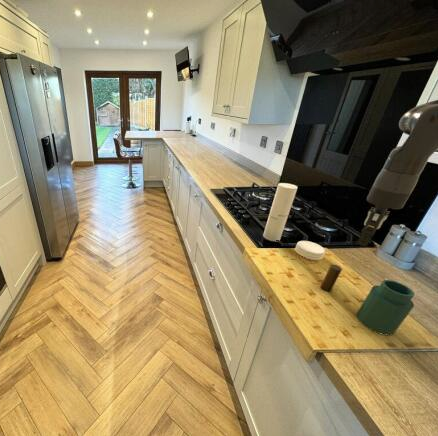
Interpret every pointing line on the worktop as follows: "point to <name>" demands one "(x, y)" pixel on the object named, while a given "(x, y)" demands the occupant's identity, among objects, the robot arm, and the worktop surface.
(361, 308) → the green jar
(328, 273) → the dark brown cylinder
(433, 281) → the worktop surface
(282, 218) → the cylindrical container
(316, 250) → the cream round disc
